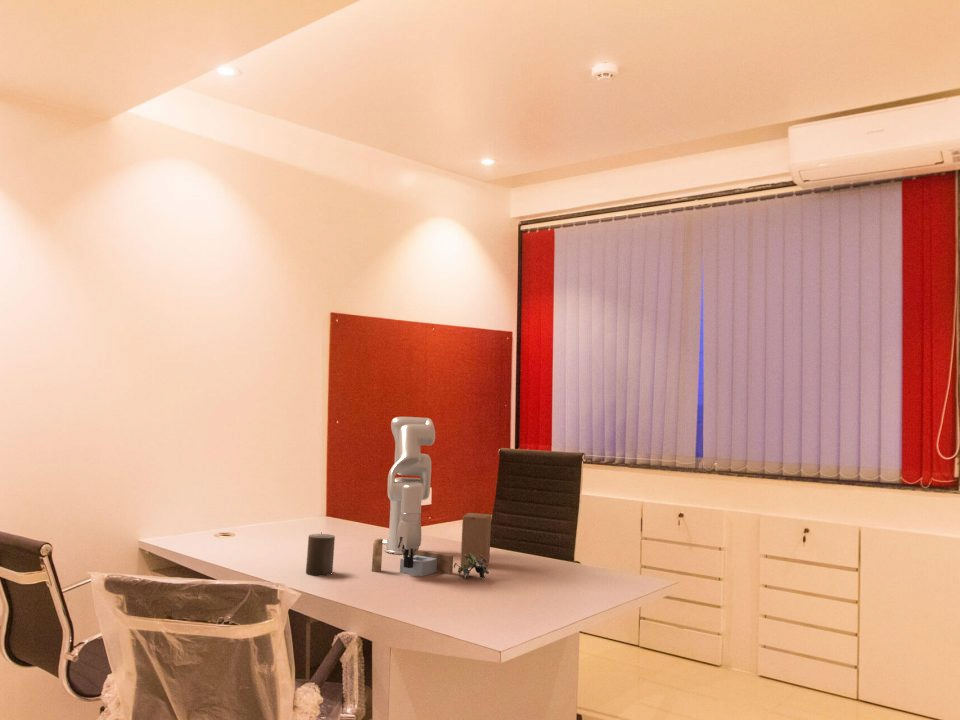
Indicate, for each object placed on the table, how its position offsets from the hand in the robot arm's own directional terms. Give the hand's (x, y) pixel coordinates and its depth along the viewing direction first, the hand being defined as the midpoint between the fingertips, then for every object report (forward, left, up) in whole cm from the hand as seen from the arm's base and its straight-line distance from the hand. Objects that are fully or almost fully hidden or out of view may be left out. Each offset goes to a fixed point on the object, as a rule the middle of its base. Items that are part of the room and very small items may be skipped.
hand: (408, 567), depth 286 cm
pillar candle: (-27, -18, -3) cm, 33 cm away
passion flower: (+20, +12, -3) cm, 24 cm away
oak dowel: (-13, -2, -3) cm, 14 cm away
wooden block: (+9, +34, -3) cm, 35 cm away
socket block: (0, +7, -3) cm, 8 cm away
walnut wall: (0, +13, -3) cm, 13 cm away
